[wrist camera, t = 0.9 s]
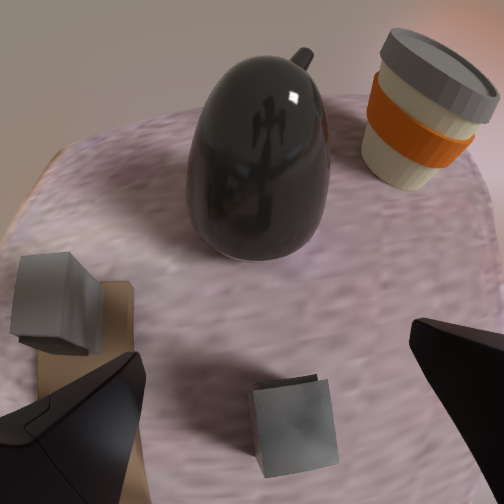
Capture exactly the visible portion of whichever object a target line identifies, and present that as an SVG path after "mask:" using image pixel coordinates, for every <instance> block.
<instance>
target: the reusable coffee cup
mask: <svg viewBox="0 0 504 504" xmlns="http://www.w3.org/2000/svg"><path fill="white" fill-rule="evenodd" d="M380 55H381V58H382V62H381V66H380V71H379V72H377V73H376V74H375V76H374V80H373V85H372V89H371V93H370V98H369V102H368V107H367V111H366V112H367V118H368V123H367V127H366V130H365V134H364V138H363V142H362V146H361V154H362V157H363V159H364V161H365V163H366V164H367V166H368V167H369V169H370V170H371V171H372V172H373V173H374V174H375V175H376V176H378V177H379V178H380V179H381V180H383V181H384V182H386V183H387V184H389V185H391V186H393V187H396V188H398V189H402V190H407V191H413V190H418V189H419V188H421V187H422V186H423V185H424V184H425V183H426V182H427V181H428V180H429V179H430V178H431V177H433V176H434V175H435V174H436V173H437V172H438V171H439V170H440V169H441V168H445V167H447V166H449V165H450V164H451V163H452V162H453V161H454V160H455V159H456V158H457V157H458V156H459V155H460V154H461V153H462V152H463V151H464V150H465V149H466V148H467V147H468V146H469V145H470V143H471V142H472V141H473V140H474V137H475V132H476V131H477V130H478V129H479V128H480V127H481V125H482V124H486V123H488V122H489V120H490V119H491V117H492V115H493V113H494V111H495V108H496V106H497V104H498V102H499V100H500V95H499V93H498V91H497V89H496V88H495V86H494V85H493V84H492V83H491V81H490V80H489V79H488V78H487V77H486V76H485V75H484V74H483V73H481V71H480V70H478V69H477V68H476V67H475V66H474V65H472V64H471V63H470V62H469V61H467V60H466V59H465V58H463V57H462V56H460V55H459V54H457V53H456V52H454V51H453V50H451V49H449V48H448V47H446V46H444V45H443V44H440V43H439V42H437V41H435V40H433V39H431V38H429V37H427V36H424V35H422V34H419V33H417V32H414V31H410V30H407V29H401V28H393V29H391V31H390V33H389V35H388V37H387V39H386V41H385V43H384V45H383V47H382V49H381V51H380Z"/></svg>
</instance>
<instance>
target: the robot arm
mask: <svg viewBox="0 0 504 504" xmlns="http://www.w3.org/2000/svg"><path fill="white" fill-rule="evenodd" d="M409 345H410V348H411V350H412V352H413V354H414V356H415V358H416V360H417V362H418V364H419V366H420V368H421V370H422V371H423V373H424V375H425V377H426V379H427V381H428V382H429V384H430V385H431V387H432V388H433V390H434V392H435V393H436V395H437V396H438V398H439V399H440V401H441V403H442V404H443V406H444V407H445V409H446V411H447V412H448V414H449V415H450V417H451V419H452V420H453V422H454V424H455V425H456V427H457V429H458V430H459V432H460V434H461V436H462V437H463V439H464V441H465V442H466V444H467V446H468V448H469V449H470V451H471V453H472V455H473V457H474V458H475V460H476V462H477V464H478V466H479V467H481V468H480V470H481V472H482V473H483V475H484V477H485V479H486V481H487V483H488V485H489V487H490V489H491V491H492V493H493V495H494V497H495V499H496V501H497V503H498V504H504V334H499V333H494V332H489V331H484V330H479V329H475V328H470V327H465V326H460V325H456V324H451V323H446V322H442V321H437V320H433V319H428V318H419V319H415V320H414V321H413V322H412V326H411V332H410V339H409ZM145 383H146V373H145V370H144V366H143V363H142V359H141V356H140V354H139V353H138V352H125V353H123V354H121V355H119V356H118V357H116V358H114V359H112V360H111V361H109V362H107V363H105V364H103V365H102V366H100V367H98V368H96V369H95V370H93V371H91V372H89V373H87V374H86V375H84V376H82V377H80V378H78V379H76V380H75V381H73V382H71V383H69V384H67V385H66V386H64V387H62V388H60V389H58V390H56V391H54V392H53V393H51V395H47V396H45V397H43V398H41V399H39V400H38V401H36V402H34V403H32V404H30V405H28V406H25V407H23V408H21V409H19V410H16V411H14V412H12V413H9V414H7V415H5V416H2V417H0V504H119V502H120V497H121V492H122V488H123V484H124V479H125V475H126V471H127V467H128V463H129V459H130V455H131V451H132V447H133V443H134V439H135V435H136V432H137V428H138V424H139V420H140V416H141V409H142V402H143V396H144V389H145Z"/></svg>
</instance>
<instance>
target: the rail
mask: <svg viewBox="0 0 504 504" xmlns="http://www.w3.org/2000/svg"><path fill="white" fill-rule="evenodd" d="M133 309H134V287H133V286H132V285H131V284H130V282H129V281H119V282H101V283H98V282H97V281H96V280H95V279H94V278H93V277H92V276H91V275H90V274H89V272H88V271H87V270H86V269H85V268H84V267H83V266H82V265H81V264H80V263H79V262H78V261H77V260H76V259H75V258H74V256H73V255H72V254H71V253H70V252H62V253H51V254H41V255H31V256H21V260H20V264H19V270H18V275H17V281H16V286H15V293H14V300H13V308H12V316H11V326H10V333H11V334H13V335H15V336H18V337H19V342H20V343H22V344H25V345H27V346H30V347H32V348H35V349H38V400H39V399H41V398H43V397H45V396H47V395H51V393H53V392H54V391H56V390H58V389H60V388H62V387H64V386H66V385H67V384H69V383H71V382H73V381H75V380H76V379H78V378H80V377H82V376H84V375H86V374H87V373H89V372H91V371H93V370H95V369H96V368H98V367H100V366H102V365H103V364H105V363H107V362H109V361H111V360H112V359H114V358H116V357H118V356H119V355H121V354H123V353H125V352H134V333H133ZM119 504H151V500H150V495H149V490H148V484H147V479H146V473H145V467H144V460H143V454H142V446H141V439H140V430H139V424H138V428H137V432H136V435H135V439H134V443H133V447H132V451H131V455H130V459H129V463H128V467H127V471H126V475H125V479H124V484H123V488H122V492H121V497H120V502H119Z"/></svg>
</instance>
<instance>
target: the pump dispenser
mask: <svg viewBox="0 0 504 504" xmlns="http://www.w3.org/2000/svg"><path fill="white" fill-rule="evenodd" d="M313 57H314V54H313V52H312V51H311V50H310V49H309V48H305V47H303V48H300V49H299V50H298V51H297V52H296V53H295V54H294V55H293V56H292V58H291V59H290V60H287V59H285V58H281V57H278V56H270V55H269V56H268V55H266V56H265V55H264V56H255V57H252V58H248V59H245V60H243V61H241V62H239V63H237V64H236V65H234V66H233V67H232V68H230V69H229V70H228V71H227V72H226V73H225V74H224V76H223V77H222V78H221V79H220V81H219V82H218V83H217V84H216V86H215V87H214V89H213V90H212V92H211V94H210V95H209V97H208V99H207V101H206V103H205V105H204V108H203V110H202V112H201V115H200V118H199V120H198V123H197V127H196V130H195V133H194V137H193V140H192V144H191V148H190V153H189V158H188V164H187V173H186V190H185V194H186V206H187V211H188V215H189V219H190V221H191V224H192V226H193V227H194V229H195V231H196V232H197V233H198V235H199V236H200V237H201V238H202V239H203V240H204V241H205V242H206V243H207V244H208V245H210V246H211V247H213V248H214V249H216V250H217V251H218V252H220V253H221V254H223V255H225V256H227V257H229V258H232V259H234V260H238V261H241V262H247V263H264V262H269V261H273V260H276V259H279V258H282V257H285V256H287V255H289V254H292V253H294V252H295V251H297V250H298V249H300V248H301V247H303V246H304V245H305V244H306V243H307V242H308V241H309V240H310V239H311V237H312V236H313V235H314V233H315V231H316V230H317V228H318V226H319V223H320V221H321V218H322V215H323V212H324V208H325V204H326V199H327V193H328V187H329V179H330V132H329V124H328V119H327V114H326V109H325V106H324V103H323V100H322V97H321V95H320V92H319V90H318V88H317V86H316V84H315V82H314V81H313V79H312V78H311V76H310V75H309V74H308V73H307V72H306V71H307V69H308V67H309V65H310V63H311V61H312V60H313Z"/></svg>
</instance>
